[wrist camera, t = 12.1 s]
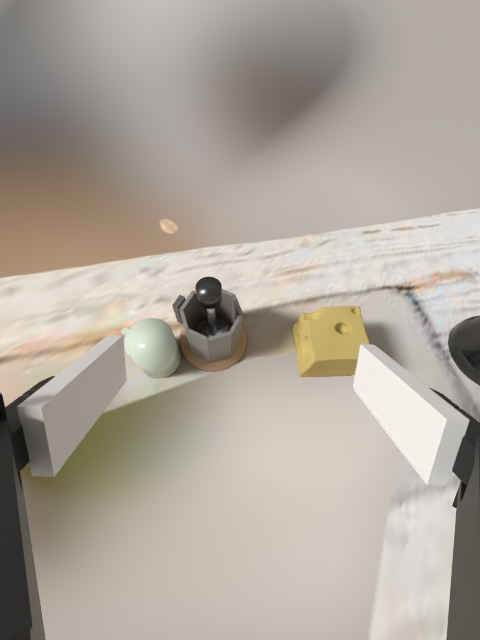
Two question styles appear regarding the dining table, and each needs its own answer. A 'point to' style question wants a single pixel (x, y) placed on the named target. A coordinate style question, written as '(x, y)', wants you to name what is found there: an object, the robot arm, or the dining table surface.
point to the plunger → (210, 306)
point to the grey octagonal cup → (214, 349)
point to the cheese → (329, 341)
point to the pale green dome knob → (153, 347)
